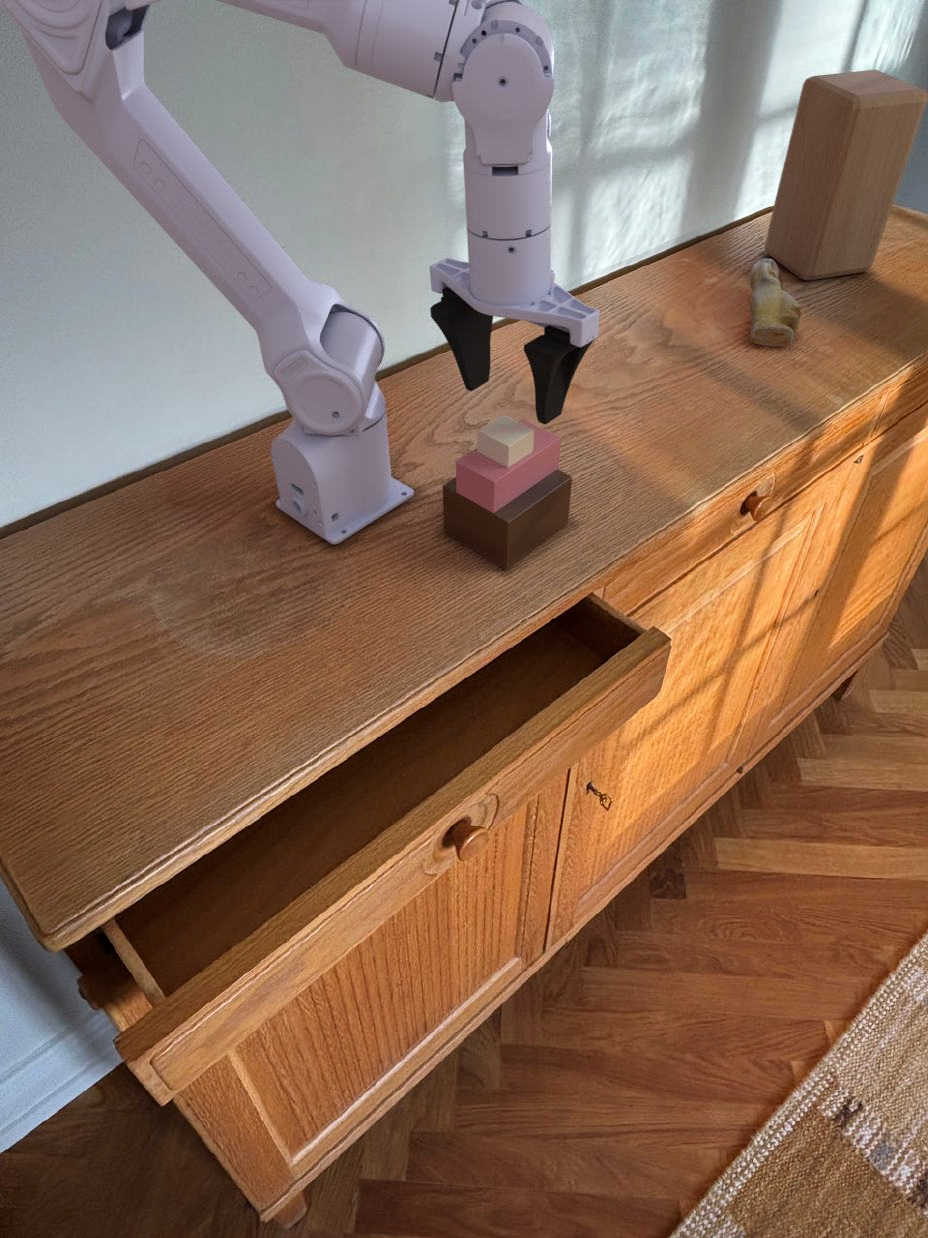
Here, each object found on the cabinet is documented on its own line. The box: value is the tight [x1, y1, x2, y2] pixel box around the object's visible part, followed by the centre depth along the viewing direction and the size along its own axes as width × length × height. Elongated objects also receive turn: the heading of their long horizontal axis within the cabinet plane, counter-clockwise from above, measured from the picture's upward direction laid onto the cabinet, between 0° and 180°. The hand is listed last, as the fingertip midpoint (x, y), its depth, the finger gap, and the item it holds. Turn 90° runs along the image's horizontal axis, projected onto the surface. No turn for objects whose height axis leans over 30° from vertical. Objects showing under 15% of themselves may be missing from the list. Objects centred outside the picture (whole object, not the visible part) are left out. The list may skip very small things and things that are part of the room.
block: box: [764, 69, 928, 281], centre depth 102 cm, size 10×10×20 cm
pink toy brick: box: [455, 414, 562, 513], centre depth 68 cm, size 8×4×5 cm, turn 137°
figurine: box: [748, 257, 802, 347], centre depth 98 cm, size 5×5×15 cm
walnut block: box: [442, 468, 573, 571], centre depth 72 cm, size 8×7×5 cm
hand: (512, 400), depth 68 cm, fingers open, 7 cm apart
